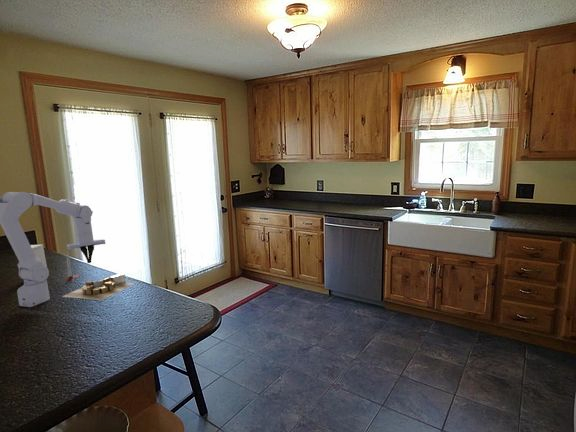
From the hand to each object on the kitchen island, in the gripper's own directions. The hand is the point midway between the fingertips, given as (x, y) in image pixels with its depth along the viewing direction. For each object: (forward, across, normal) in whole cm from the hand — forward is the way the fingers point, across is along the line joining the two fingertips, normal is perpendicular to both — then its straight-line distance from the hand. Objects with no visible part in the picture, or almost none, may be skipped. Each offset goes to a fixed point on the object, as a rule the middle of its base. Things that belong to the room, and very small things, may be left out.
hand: (89, 262), depth 157 cm
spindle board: (+10, +2, -14) cm, 17 cm away
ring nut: (+9, +3, -13) cm, 16 cm away
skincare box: (+10, -22, +29) cm, 37 cm away
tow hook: (+10, -5, +12) cm, 16 cm away
